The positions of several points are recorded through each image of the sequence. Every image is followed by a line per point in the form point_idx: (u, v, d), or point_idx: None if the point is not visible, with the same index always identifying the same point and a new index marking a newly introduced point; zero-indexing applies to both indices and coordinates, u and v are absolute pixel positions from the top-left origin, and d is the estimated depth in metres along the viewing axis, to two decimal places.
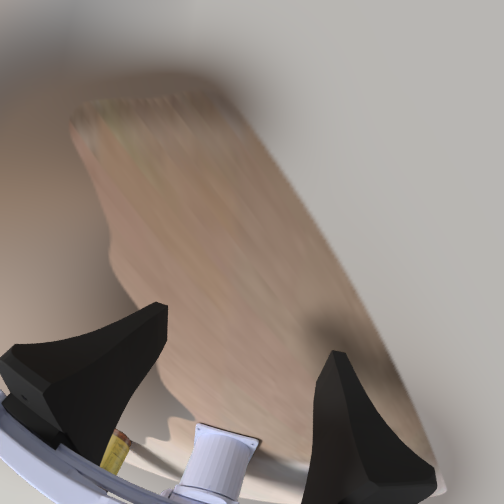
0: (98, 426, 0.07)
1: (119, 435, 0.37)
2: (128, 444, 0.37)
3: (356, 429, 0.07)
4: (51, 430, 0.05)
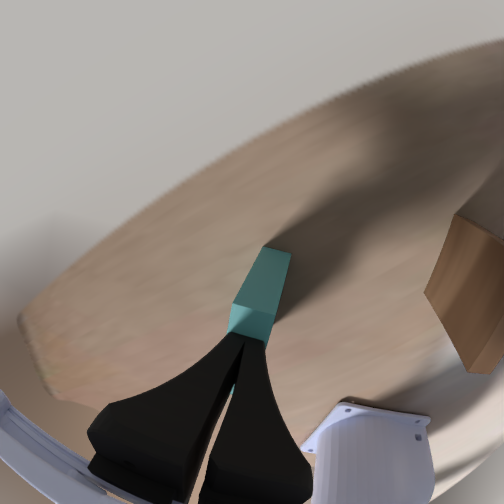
0: (196, 468, 0.07)
1: None
2: None
3: (236, 406, 0.07)
4: (164, 490, 0.05)
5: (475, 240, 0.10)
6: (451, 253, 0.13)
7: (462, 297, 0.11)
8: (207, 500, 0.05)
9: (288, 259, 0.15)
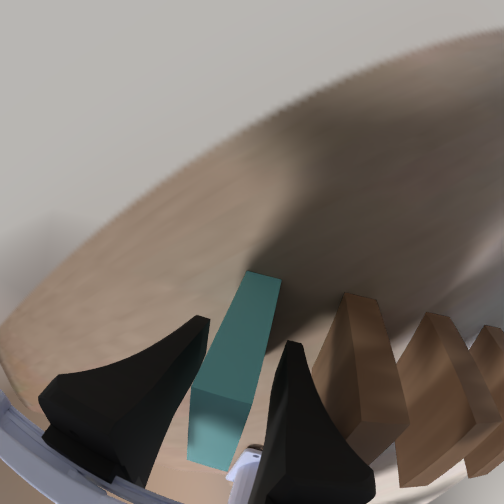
0: (148, 450, 0.07)
1: None
2: None
3: (292, 419, 0.07)
4: (106, 464, 0.05)
5: (345, 343, 0.10)
6: (332, 341, 0.12)
7: (322, 402, 0.10)
8: None
9: (275, 299, 0.11)
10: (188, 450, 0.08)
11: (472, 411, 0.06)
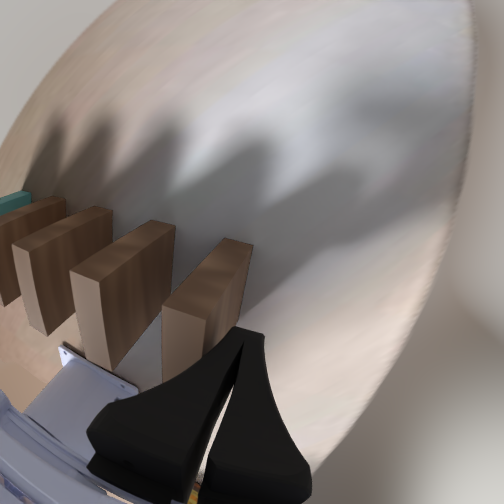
0: (196, 468, 0.07)
1: None
2: None
3: (235, 406, 0.07)
4: (163, 490, 0.05)
5: None
6: None
7: None
8: (206, 500, 0.05)
9: (14, 198, 0.16)
10: None
11: None
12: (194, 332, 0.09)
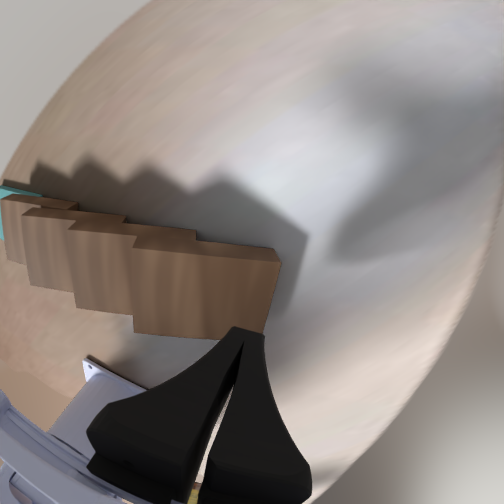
0: (196, 468, 0.07)
1: None
2: None
3: (235, 406, 0.07)
4: (163, 490, 0.05)
5: None
6: None
7: None
8: (206, 500, 0.05)
9: (24, 194, 0.17)
10: None
11: None
12: (133, 257, 0.13)
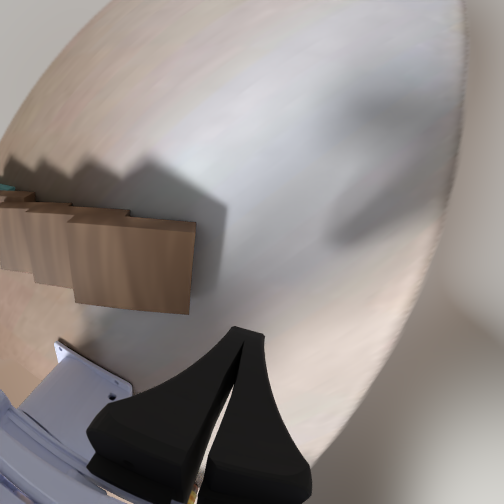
0: (195, 468, 0.07)
1: None
2: None
3: (235, 406, 0.07)
4: (163, 490, 0.05)
5: None
6: None
7: None
8: (206, 500, 0.05)
9: None
10: None
11: None
12: (69, 232, 0.13)
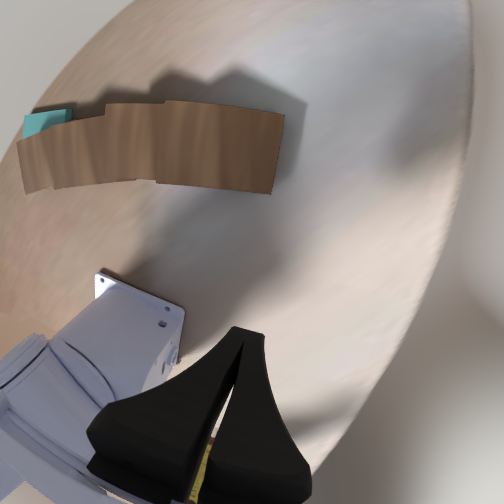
0: (195, 468, 0.07)
1: None
2: None
3: (235, 406, 0.07)
4: (163, 490, 0.05)
5: None
6: None
7: None
8: (206, 500, 0.05)
9: None
10: None
11: None
12: (164, 111, 0.15)
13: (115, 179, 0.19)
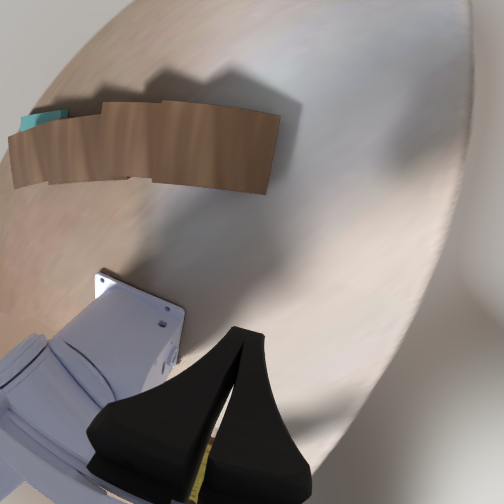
0: (195, 468, 0.07)
1: None
2: None
3: (235, 406, 0.07)
4: (163, 490, 0.05)
5: None
6: None
7: None
8: (206, 500, 0.05)
9: (50, 111, 0.19)
10: None
11: None
12: (161, 111, 0.15)
13: (108, 178, 0.19)
